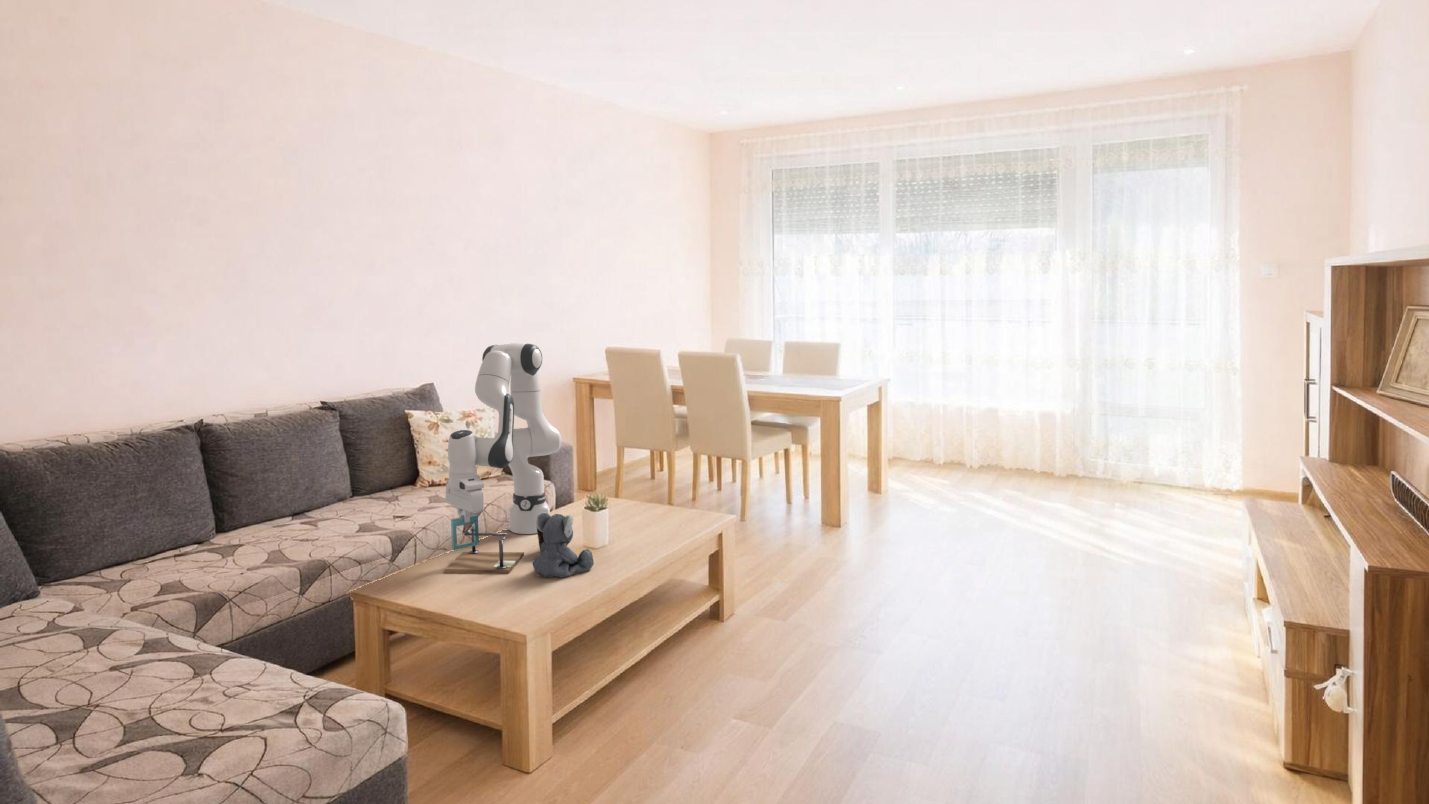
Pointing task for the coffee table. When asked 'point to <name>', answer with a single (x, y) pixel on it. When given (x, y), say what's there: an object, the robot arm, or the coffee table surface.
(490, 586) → the coffee table surface
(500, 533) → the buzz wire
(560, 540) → the koala plush
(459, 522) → the teal picture frame
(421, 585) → the coffee table surface
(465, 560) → the board
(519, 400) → the robot arm
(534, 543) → the coffee table surface
